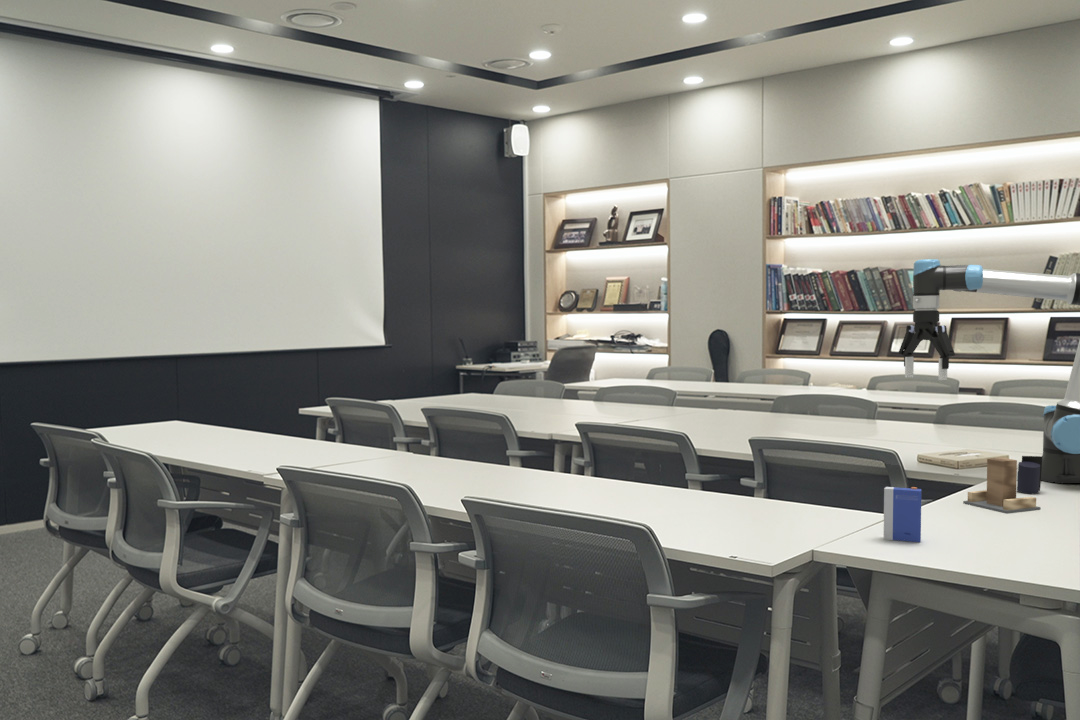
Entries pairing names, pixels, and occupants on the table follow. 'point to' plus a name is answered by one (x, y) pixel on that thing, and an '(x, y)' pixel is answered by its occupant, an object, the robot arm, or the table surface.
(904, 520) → the walkman
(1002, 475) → the brown wooden block
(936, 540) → the table surface
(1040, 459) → the speaker
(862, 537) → the table surface
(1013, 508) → the end caps
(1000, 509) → the mat
